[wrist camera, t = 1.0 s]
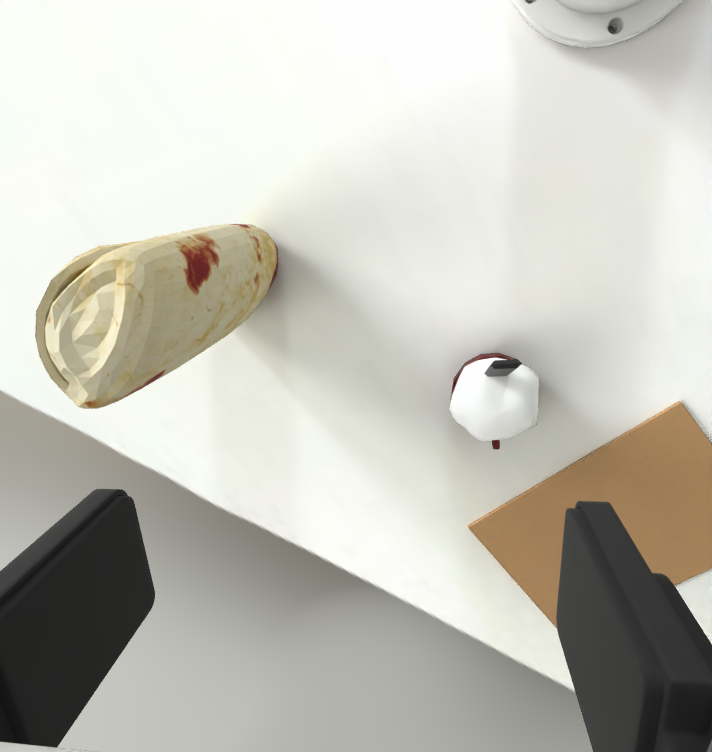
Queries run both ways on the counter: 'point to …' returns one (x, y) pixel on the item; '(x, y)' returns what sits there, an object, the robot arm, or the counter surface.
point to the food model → (148, 307)
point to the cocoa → (495, 397)
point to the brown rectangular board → (615, 506)
